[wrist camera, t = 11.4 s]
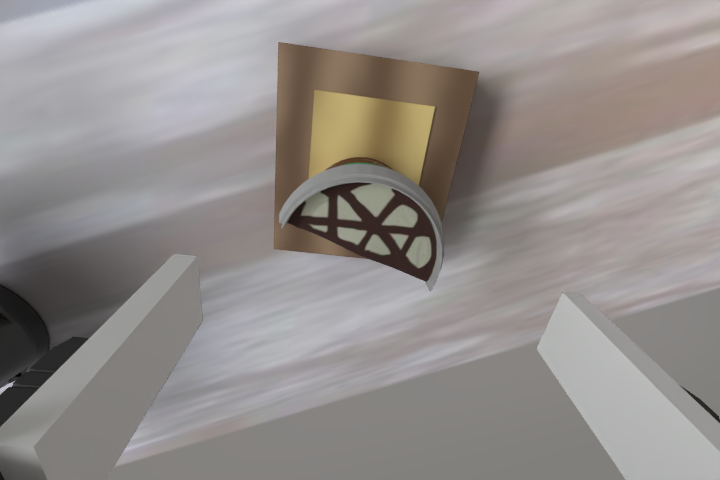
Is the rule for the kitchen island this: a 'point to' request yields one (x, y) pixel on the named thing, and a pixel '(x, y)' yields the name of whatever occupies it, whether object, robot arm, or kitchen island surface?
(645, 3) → the kitchen island surface
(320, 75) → the plate
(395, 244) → the food container
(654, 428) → the robot arm
